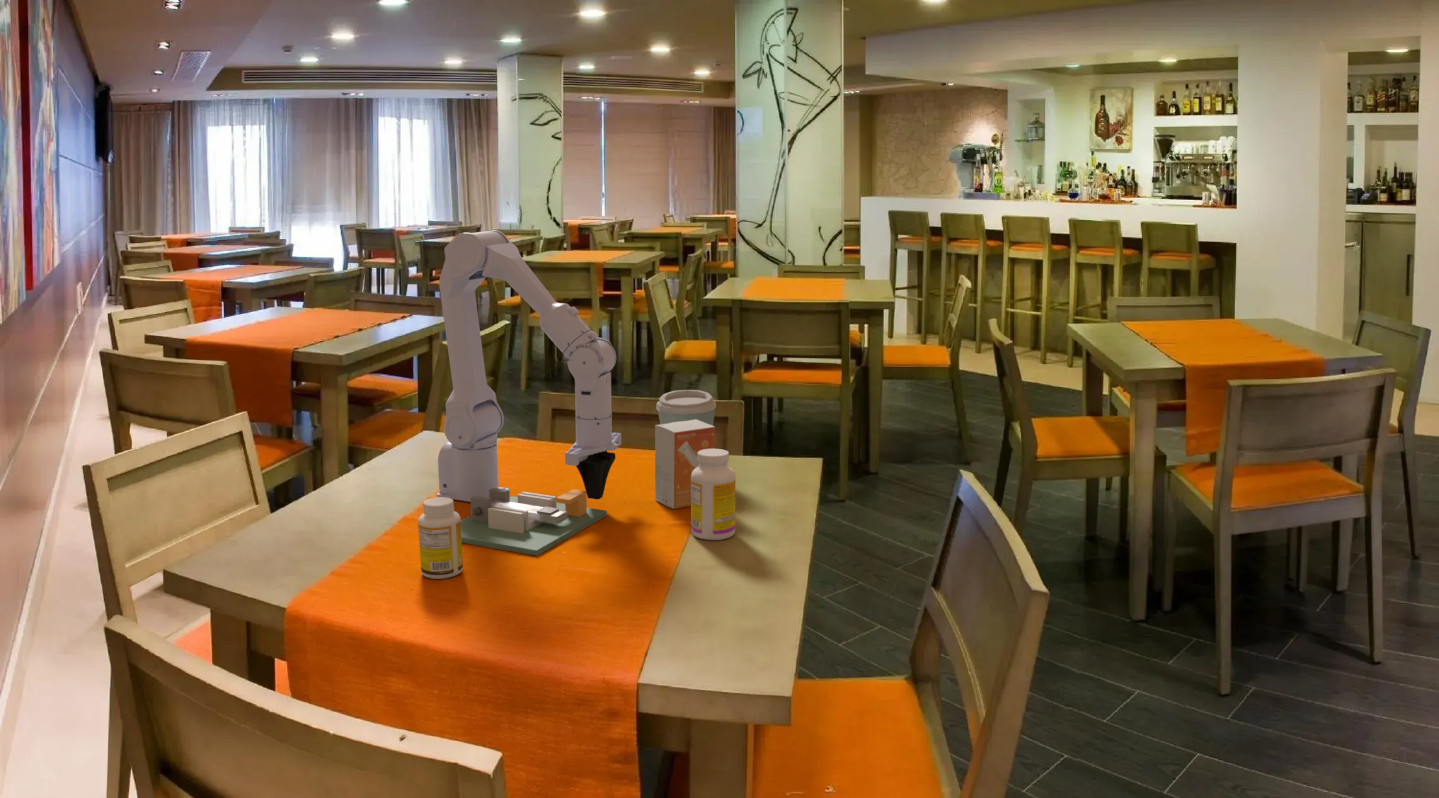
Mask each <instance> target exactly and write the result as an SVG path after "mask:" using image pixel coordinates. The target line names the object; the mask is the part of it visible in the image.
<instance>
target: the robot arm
mask: <svg viewBox="0 0 1439 798" xmlns="http://www.w3.org/2000/svg"><path fill="white" fill-rule="evenodd" d="M443 250H444V257H445V260H444V262H443V266H442V269H441V273H440V275H439V280H438V285H439V292H440V293H439V295H440V299H441V300H440V301H441V307H442V315H443V324H444V329H445V338H446V345H447V352H448V359H449V367H450V374H451V381H452V390H451V393H450V394H449V396H448V398H447V400H446V402H445V418H444V421H443V426H442V427H443V433H444V436H445V437H446V439H447V442H446V443H444V444H443V445H442V446H441V447H440V450H439V453H438V458H437V469H438V470H437V471H438V484H439V485H438V486H439V487H438V488H439V489H438V490H439V491H438V492H437V493H436V497H446V498H451V499H452V500H456V501H461V502H467V503H471V502H470V498H471V497H473V496H480V497H486V498H489V489H491V488H500V489H506V490H509V492H510V491H511V490H510V488H509V487H508V488H507V487H502V486H501V487H500V486H499V483H500V481H499V462H498V461H499V460H498V433H499V432H500V431H502V428H503V427H504V422H505V418H504V413H503V411H502V408H501V407H500V405H499V403H498V400H497V395H496V392H495V391H494V390H493V389H492V388H491V386H489V385H488V383H487V376H486V367H485V361H484V360H485V359H484V352H483V351H484V350H483V345H482V336H481V329H480V320H479V313H478V308H477V307H478V306H477V298H476V289H477V288H478V287H479V286H480V285H481V284H482V283H483V281H484V280H485V279H487V278H491V279H497V280H502V281H504V282H506V283H507V285H509V286H510V287H511V288H512V289H513V291H515V292H516V293H517V294H518V295H519V297H520V298H522V299H523V300H524V302H526V303H527V304H528V305H529V306H530V308H531V309H533V311H534V312H536V313H537V314H538V316H539V326H540V329H541V330H542V331H543V333H545V335H547V337H548V338H549V339H550V340H551V342H553V344H554V345H555V346H556V347H557V348H558V350H560V352H561V353H562V355H564V357H566V358H567V359H568V360H567V361H566V363H567V367H568V370H569V372H570V373H571V375H572V377H573V379H574V397H575V398H574V400H575V401H574V403H575V404H574V406H575V442H574V443H573V444H572V446H571V448H569V450H568V451H566V452H564V465H567V466H575V467H576V469H577V471H578V472H579V474H580V477H581V479H582V482H583V485H584V489H585V490H584V491H586V498H587V499H591V500H600V499H603V497H604V493H605V487H606V484H607V480H608V476H609V472H610V470H611V467H612V465H613V464H614V462H615V460H616V453H615V452H609V451H616V450H617V449H618V448H619V446H621V445H622V433H620V432H612V431H613V430H612V429H613V428H612V427H613V425H612V423H613V421H612V418H613V415H612V412H613V411H612V372H610V371H612V370H613V369H614V367H615V365H616V362H617V354H616V353H617V352H616V350H615V348H614V346H613V345H612V343H611V341H609V340H608V339H606V338H603V337H599V335H598V333H597V332H596V331H595V330H594V331H592V330H591V328H589V327H588V325H587V324H586V323H585V322H584V321H583V320H582V318H581V317H580V316H579V315H578V314H579V313H580V311H579V310H578V309H577V307H576V306H570V304H568V303H564V302H557V301H556V300H555V298H554V297H553V296H552V294H551V293H550V292H549V291H548V289H547V288H546V286H544V284H543V282H541V281H540V280H539V277H537V275H536V274H535V273H534V271H533V270H532V269H531V268H530V266H529V265H528V264H527V263H526V261H525V260H524V259H523V257H522V256H521V253H520V251H519V248H518V247H517V246H516V245H515V244H514V243H512V242H510V239H509V238H508V236H506V234H505V233H503V232H502V231H500V230H496V229H489V230H486V231H478V232H477V231H476V232H461V233H459V234H457V235H456V236H454V237H453V238H452V239H451V241H449V242H448V244H447V245H446V246H445V247H444V249H443Z"/></svg>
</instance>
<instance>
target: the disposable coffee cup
mask: <svg viewBox="0 0 1439 798" xmlns="http://www.w3.org/2000/svg"><path fill="white" fill-rule="evenodd" d="M655 405H656V406H655V409H656V410H657V414H658V419H659V425H661V424H668V423H672V422H679V421H689V420H695V419H697V420H699V421H702V422H704V423H707V424H710V425H712V426H714V420H715V413H716V408H717V403H716V401H715V400H714V397H713V396H712V395H711V393H710V392H707V391H703V390H701V389H699V390H698V389H680V390H672V391H669V392H665V393H663V394H662V395H661V396H660V397H659V398H658V401H657V402H656V404H655Z"/></svg>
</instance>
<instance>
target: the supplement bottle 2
mask: <svg viewBox="0 0 1439 798" xmlns="http://www.w3.org/2000/svg"><path fill="white" fill-rule="evenodd" d="M697 460H698V462H699V467H697V468H695V469H694V470H693V471H692V474H691V506H690V508H691V509H690V511H691V512H690V515H691V517H690V520H691V521H690V525H691V526H690V527H691V533H692V535H693V536H694V537H696V538H698V539H700V540H705V541H721V540H725V539H726V540H727V539H729V538H731V537H733V535H735V533H736V473H735V470H734V469H733V468H731V467H730V466H728V463H729V460H730V453H729V451H728V450H727V449H726V450H725V449H721V448H715V449H703V450H700V451H698V457H697Z"/></svg>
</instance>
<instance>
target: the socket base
mask: <svg viewBox="0 0 1439 798" xmlns="http://www.w3.org/2000/svg"><path fill="white" fill-rule="evenodd" d="M556 498H557V496H555V495H549V494H548V495H547V494H542V493H536V492H528V491H522V492H521V493H518V494H517V496H510V491H509V490H506V489H500V488H491V489H489V498H486V497H480V496H473V497H471V498H470V502H469V503H470V515H468V516H467V517H464V518H462V519H460V521H461V540H462V544H469V545H474V546H479V547H480V546H481V547H484V548H485V547H486V548H490V549H491V548H492V549H497V550H503V551H508V552H509V551H510V552H513V553H520V554H525V555H531V556H536V557H537V556H539V555H541V554H542V553H544V552H545V551H547V550H549V549H551V548H553V547H555V546H556V545H557V544H560V543H562V542H563V541H565V540H566V539H568V538H571V537H572V536H574V535H576V534H578V532H580V531H582V530H584V529H586V528H587V527H588V528H589V526H591V525H593V524H594V523H596V522H598V521H599V520H602V519H603V518H605V517H607V515H608V511H607V510H606V509H605V510H604V509H599V508H592V507H587V513H585V514H583V515H581V516H580V517H576V516H570V515H567V519H566V520H564V521H562V522H560V523H559V524H551V523H545V522H539V521H534V520H528V511H527V510H520V509H514V508H508V507H501V506H493V508H492V506H491V501H493V500H496V499H498V500H503V501H509V502H515V503H521V504H527V505H533V506H539V507H545V506H546V507H552V508H558V509H559V510H563V511H566V510H565V504H564V503H558V502H556Z"/></svg>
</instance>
